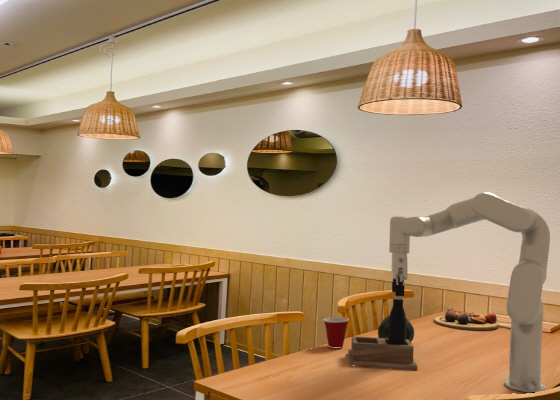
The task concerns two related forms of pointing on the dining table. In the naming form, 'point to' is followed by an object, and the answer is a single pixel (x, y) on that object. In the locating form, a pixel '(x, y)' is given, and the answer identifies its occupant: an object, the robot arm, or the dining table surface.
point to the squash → (384, 329)
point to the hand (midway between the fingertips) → (397, 294)
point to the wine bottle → (397, 322)
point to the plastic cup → (336, 330)
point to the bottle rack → (381, 353)
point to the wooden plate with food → (467, 321)
